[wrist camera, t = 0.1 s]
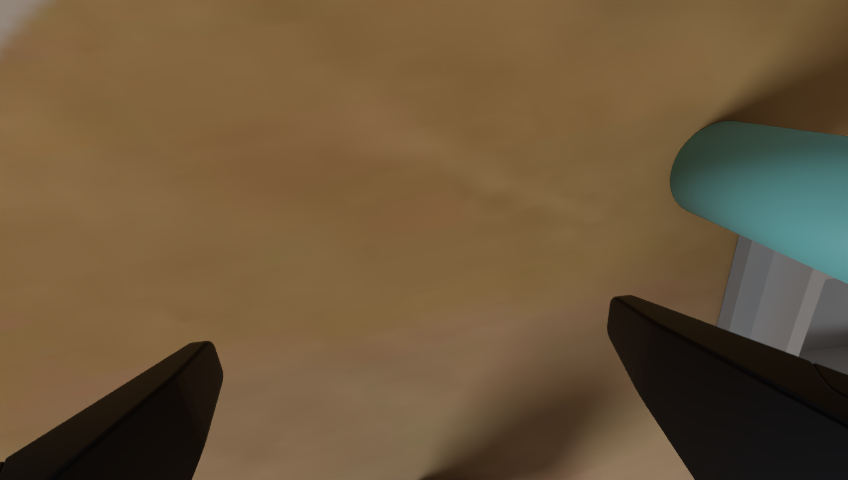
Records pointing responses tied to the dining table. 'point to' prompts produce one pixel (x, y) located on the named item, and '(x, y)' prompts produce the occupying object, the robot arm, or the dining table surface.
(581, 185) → the dining table surface
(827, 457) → the robot arm
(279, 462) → the dining table surface
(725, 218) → the teal flask
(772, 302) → the tray
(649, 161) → the dining table surface
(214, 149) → the dining table surface
